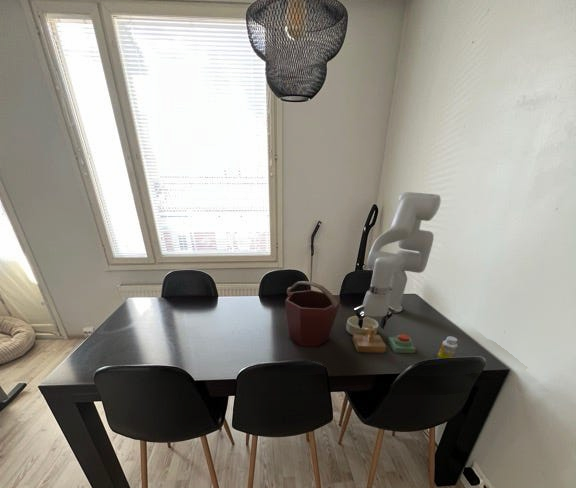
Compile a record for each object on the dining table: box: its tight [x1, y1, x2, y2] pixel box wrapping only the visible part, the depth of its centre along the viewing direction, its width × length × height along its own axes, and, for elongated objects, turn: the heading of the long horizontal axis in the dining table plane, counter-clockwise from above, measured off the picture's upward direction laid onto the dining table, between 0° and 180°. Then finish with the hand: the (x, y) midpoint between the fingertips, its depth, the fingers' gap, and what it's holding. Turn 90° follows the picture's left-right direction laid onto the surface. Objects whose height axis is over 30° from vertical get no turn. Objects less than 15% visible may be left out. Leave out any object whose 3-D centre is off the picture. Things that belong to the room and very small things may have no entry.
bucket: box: [284, 280, 340, 347], centre depth 129 cm, size 24×22×25 cm
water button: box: [398, 333, 410, 342], centre depth 129 cm, size 4×4×2 cm
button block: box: [387, 334, 417, 354], centre depth 131 cm, size 10×9×4 cm
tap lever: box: [365, 324, 375, 342], centre depth 130 cm, size 8×2×5 cm, turn 1°
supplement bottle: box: [436, 336, 458, 359], centre depth 121 cm, size 6×6×10 cm
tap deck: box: [352, 334, 387, 354], centre depth 131 cm, size 13×12×3 cm
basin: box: [345, 315, 380, 336], centre depth 141 cm, size 15×15×5 cm
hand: (370, 327), depth 128 cm, fingers open, 9 cm apart
